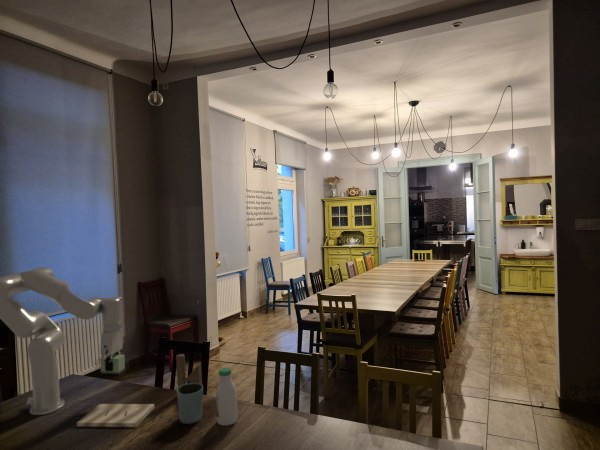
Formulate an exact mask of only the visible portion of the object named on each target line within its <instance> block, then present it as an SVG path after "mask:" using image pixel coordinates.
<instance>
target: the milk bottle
mask: <svg viewBox="0 0 600 450" xmlns="http://www.w3.org/2000/svg"><path fill="white" fill-rule="evenodd" d="M218 377H219V380H218V383H217V386H216V392H215V400H216V401H215V404H216V405H215V406H216V421H217V424H218V425H220V426H225V427H226V426H227V427H228V426H231V425H234V424H235V423H237V421H238V415H239V414H238V399H237V388H236V385H235V383H234V381H233V379H232V368H230V367H221V368H220V369H219V370H218Z"/></svg>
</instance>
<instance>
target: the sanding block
mask: <svg viewBox="0 0 600 450" xmlns="http://www.w3.org/2000/svg"><path fill="white" fill-rule="evenodd" d="M108 358H110V356H108ZM125 361H126V358H125V354H121V355H117V354H113V356H112V362H113V371H105V362H104V360H103V359H102V358H100V374H109V375H110V374H111V375H113V374H114V375H119V374H120V373H122V372H124V371H125V370H126V366H125V365H126V364H125V363H126V362H125Z"/></svg>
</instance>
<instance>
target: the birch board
mask: <svg viewBox="0 0 600 450" xmlns="http://www.w3.org/2000/svg"><path fill="white" fill-rule="evenodd" d="M154 409H155V404H154V403H100V404H98V405H96V406H95V407H94V408H93V409H91V410H90V411H89V412H88V413H86V415H84V416H83V417H82V418H81V419H79V420H78V421H76V427H88V428H89V427H93V428H94V427H96V428H97V427H98V428H99V427H101V428H104V427H105V428H108V427H109V428H137V427H138V426H139V425H140V423H142V422H143V421H144V420H145V418H146V417H147V416H148V415H150V413H151V412H152V411H153V410H154Z"/></svg>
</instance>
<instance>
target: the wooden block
mask: <svg viewBox="0 0 600 450" xmlns="http://www.w3.org/2000/svg"><path fill="white" fill-rule="evenodd" d="M185 355H186V354H184V353H180V354H177V355H176V357H175V360H176V376H177V379H176V380H177V388H178V387H179V386H181V385H183V384H187V382H190V383H200V384H202V385H203V375H202V374H203V373H202V362H200V363H199V364H198V365H197V366H196V367H195V368H194V369H193V370H192V371H191V372H190V374H189V375H188V376H187V375H186V374H187V373H186V360H185V359H186V356H185ZM177 388H176V393H177Z"/></svg>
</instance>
